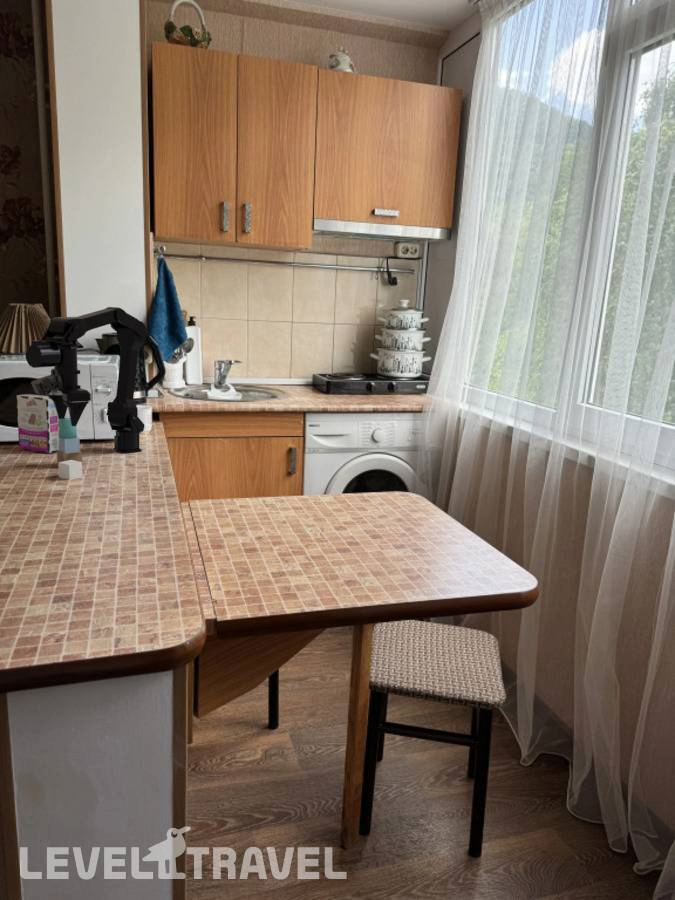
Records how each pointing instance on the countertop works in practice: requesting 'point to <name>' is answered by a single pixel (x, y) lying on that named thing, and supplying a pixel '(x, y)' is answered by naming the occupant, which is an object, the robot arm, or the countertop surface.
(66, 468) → the cube
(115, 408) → the robot arm
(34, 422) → the candy bar box
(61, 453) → the tower base
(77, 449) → the tower top
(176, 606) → the countertop surface
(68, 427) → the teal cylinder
